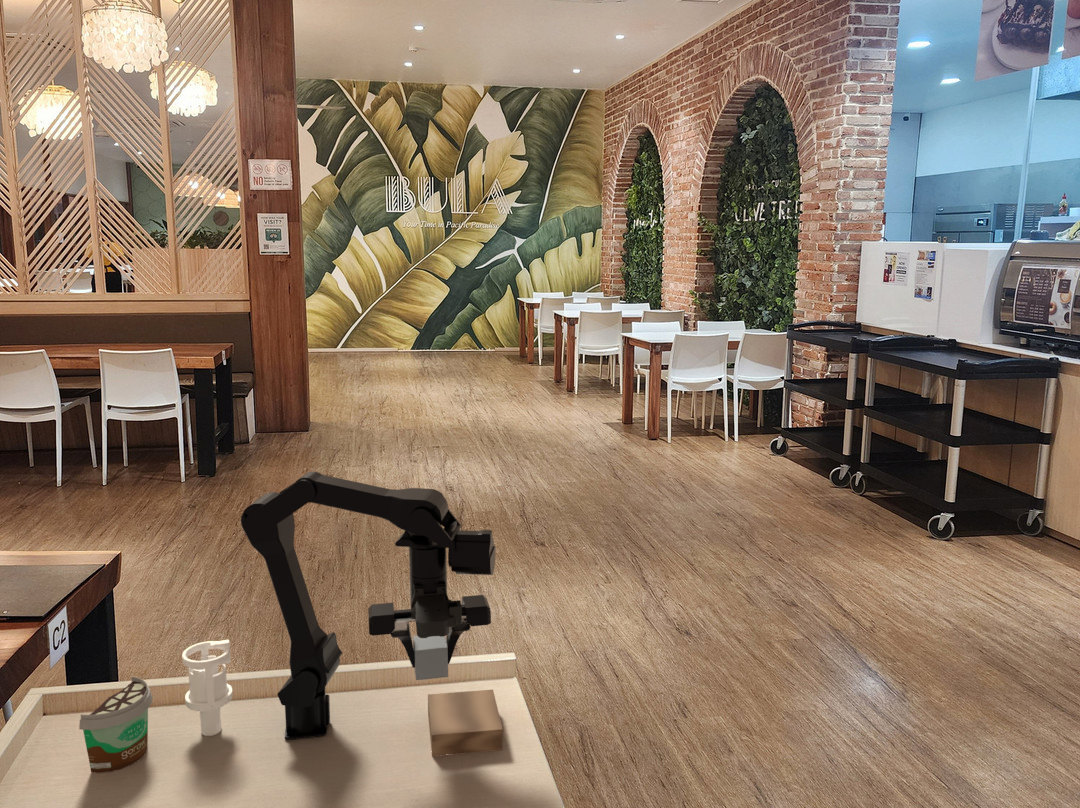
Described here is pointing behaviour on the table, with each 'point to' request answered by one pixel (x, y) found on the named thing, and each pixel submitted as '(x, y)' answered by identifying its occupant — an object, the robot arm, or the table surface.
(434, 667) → the slate cube
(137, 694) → the food container
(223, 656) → the strainer
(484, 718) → the block
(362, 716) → the table surface
